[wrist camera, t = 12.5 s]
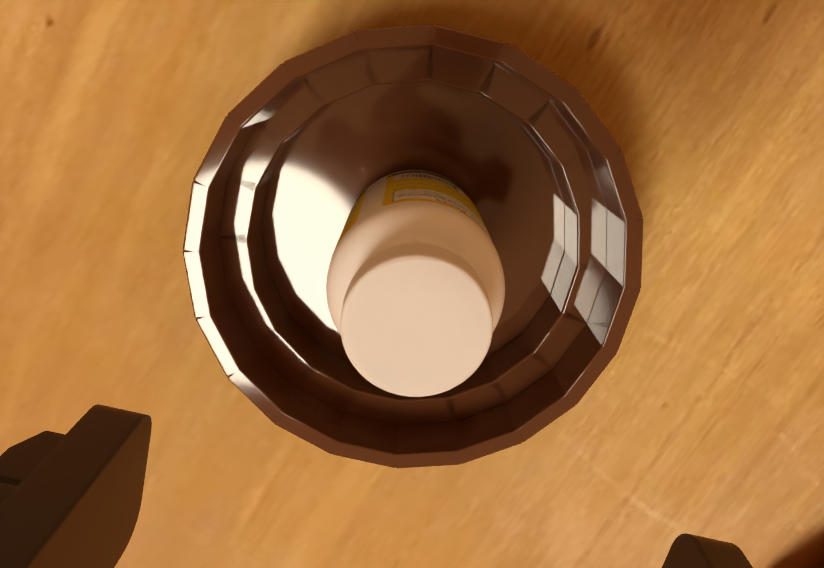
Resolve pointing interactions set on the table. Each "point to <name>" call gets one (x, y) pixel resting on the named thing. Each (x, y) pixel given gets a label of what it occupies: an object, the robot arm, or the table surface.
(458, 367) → the supplement bottle
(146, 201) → the table surface
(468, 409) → the bowl
